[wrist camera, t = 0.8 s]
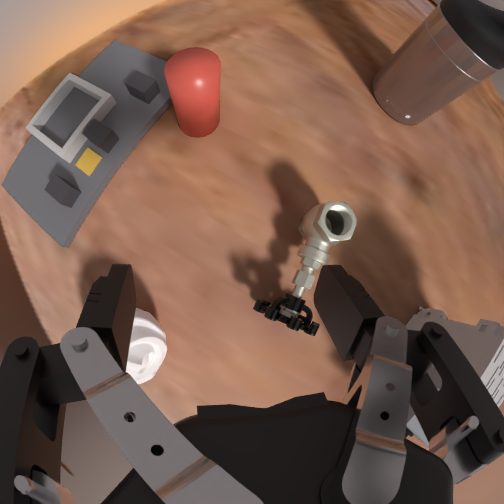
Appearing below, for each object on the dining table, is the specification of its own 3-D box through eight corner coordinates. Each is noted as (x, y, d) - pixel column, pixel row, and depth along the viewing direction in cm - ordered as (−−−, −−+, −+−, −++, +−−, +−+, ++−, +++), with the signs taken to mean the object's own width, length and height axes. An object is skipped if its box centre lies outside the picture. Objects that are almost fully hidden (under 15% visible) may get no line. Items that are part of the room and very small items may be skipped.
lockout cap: (195, 96, 29) (189, 41, 19) (227, 114, 29) (231, 61, 20) (170, 124, 29) (152, 73, 19) (202, 144, 29) (196, 96, 19)
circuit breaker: (345, 392, 30) (413, 459, 15) (420, 306, 31) (510, 324, 17) (375, 419, 31) (439, 479, 16) (443, 340, 32) (523, 366, 17)
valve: (294, 198, 30) (249, 303, 29) (313, 182, 24) (257, 315, 23) (346, 224, 31) (305, 326, 30) (376, 216, 24) (327, 342, 23)
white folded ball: (153, 381, 28) (135, 414, 20) (95, 346, 27) (63, 368, 20) (183, 321, 28) (171, 342, 21) (121, 285, 28) (90, 293, 20)
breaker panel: (117, 46, 28) (110, 28, 24) (193, 80, 29) (191, 61, 25) (8, 187, 26) (-10, 181, 22) (68, 247, 27) (50, 246, 23)
